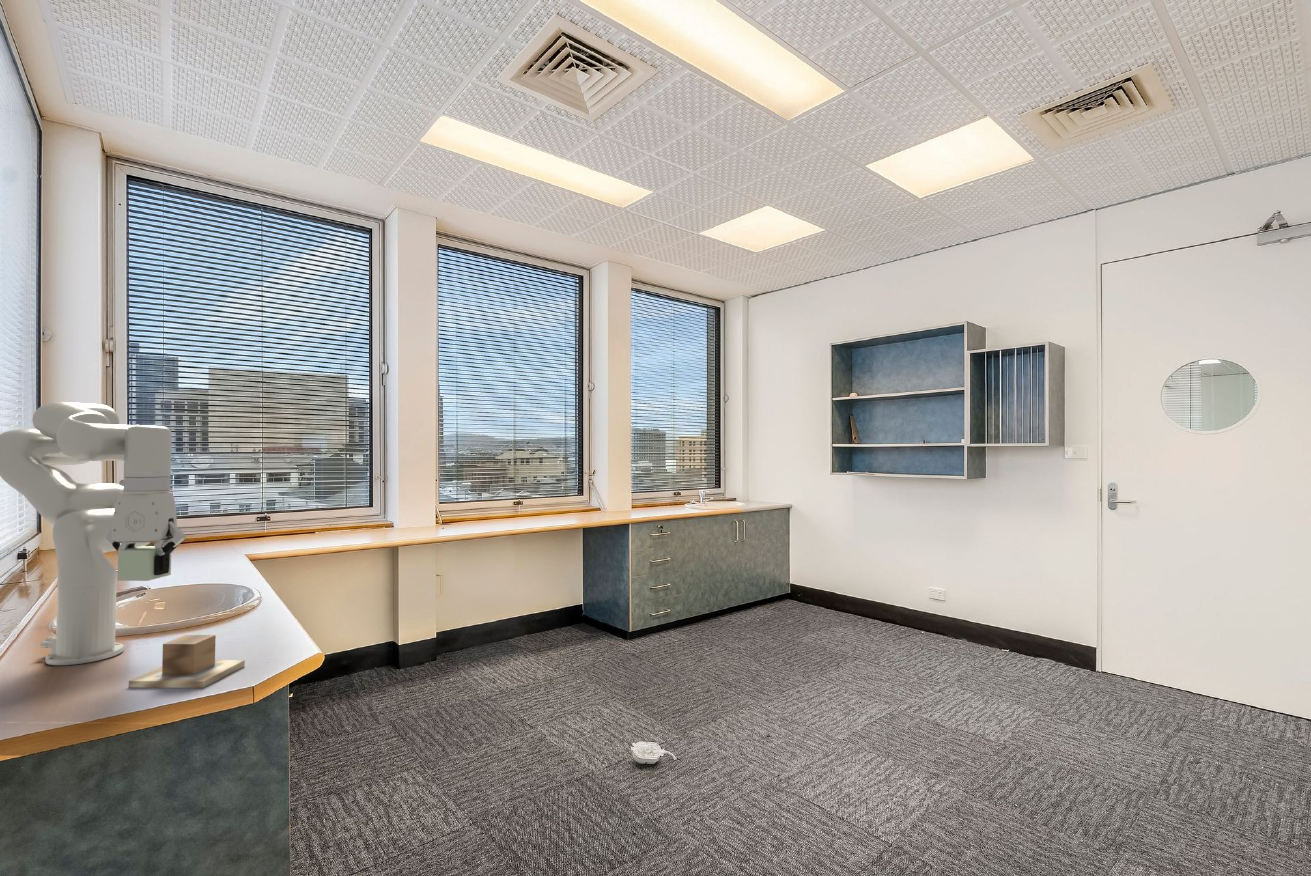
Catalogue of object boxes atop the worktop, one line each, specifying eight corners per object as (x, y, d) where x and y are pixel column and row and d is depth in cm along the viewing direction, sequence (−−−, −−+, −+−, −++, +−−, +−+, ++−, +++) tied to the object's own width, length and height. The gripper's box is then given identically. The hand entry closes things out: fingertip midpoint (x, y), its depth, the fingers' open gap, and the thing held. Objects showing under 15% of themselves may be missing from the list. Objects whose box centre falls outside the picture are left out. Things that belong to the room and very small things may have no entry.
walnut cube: (162, 675, 121) (162, 644, 121) (184, 664, 127) (185, 634, 127) (193, 675, 121) (194, 644, 121) (214, 664, 127) (215, 635, 127)
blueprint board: (128, 687, 118) (128, 680, 118) (176, 665, 130) (176, 659, 130) (203, 687, 118) (203, 681, 118) (244, 665, 130) (244, 660, 130)
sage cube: (117, 580, 125) (118, 550, 125) (141, 574, 131) (142, 545, 131) (147, 580, 125) (148, 550, 125) (170, 574, 131) (171, 546, 131)
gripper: (88, 486, 125) (85, 577, 124) (175, 487, 125) (173, 578, 125) (120, 484, 132) (118, 570, 132) (202, 485, 132) (200, 570, 132)
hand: (145, 573), depth 128 cm, fingers closed on sage cube, 6 cm apart
